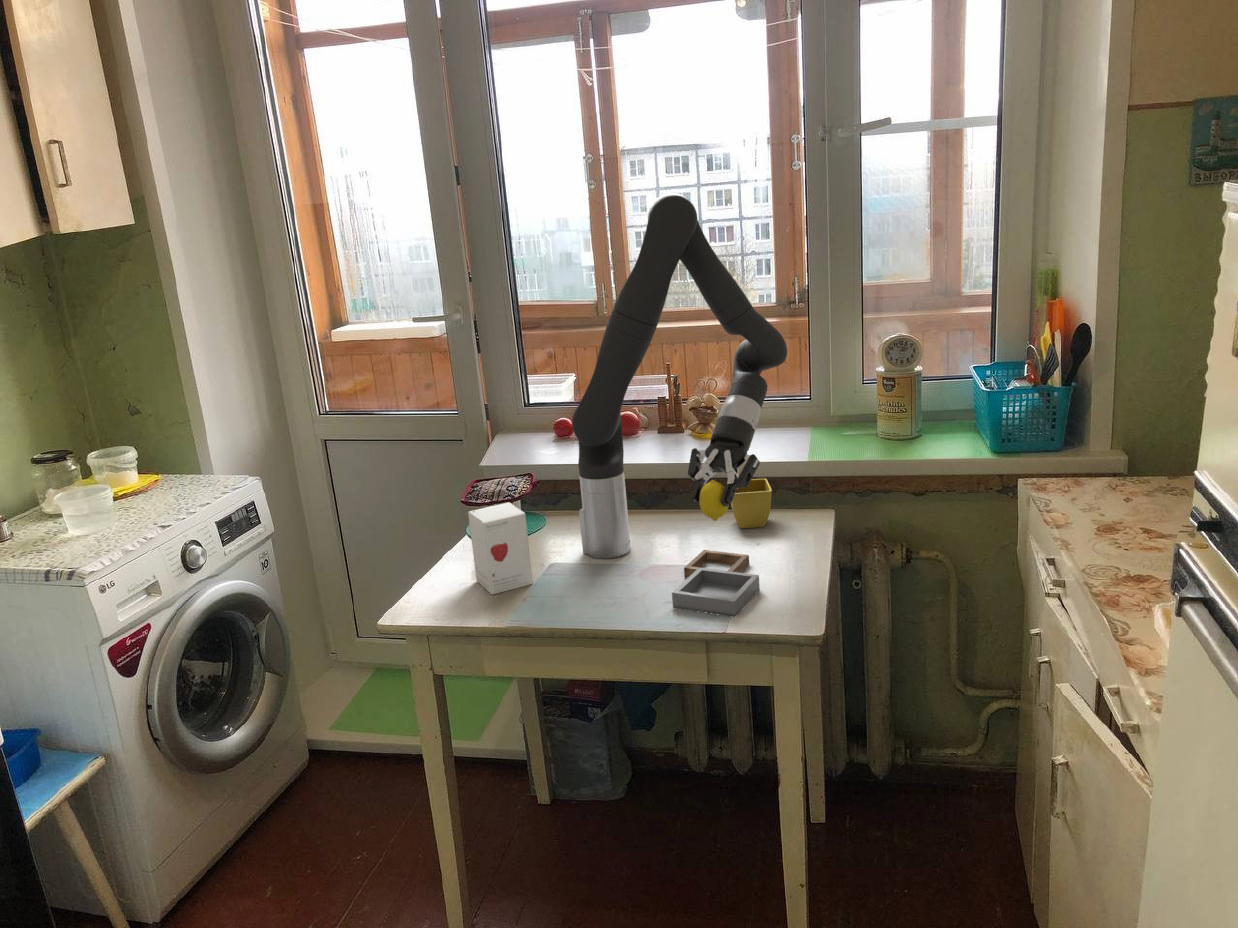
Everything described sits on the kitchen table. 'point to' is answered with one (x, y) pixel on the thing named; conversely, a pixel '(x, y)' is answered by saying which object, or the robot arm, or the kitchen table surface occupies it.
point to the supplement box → (500, 547)
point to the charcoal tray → (716, 592)
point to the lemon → (712, 500)
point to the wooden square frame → (717, 561)
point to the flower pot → (752, 504)
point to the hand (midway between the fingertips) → (709, 502)
